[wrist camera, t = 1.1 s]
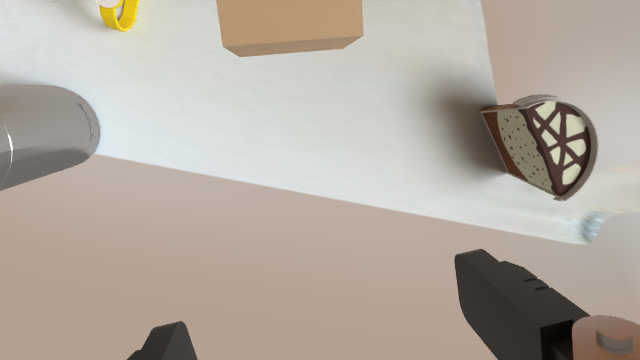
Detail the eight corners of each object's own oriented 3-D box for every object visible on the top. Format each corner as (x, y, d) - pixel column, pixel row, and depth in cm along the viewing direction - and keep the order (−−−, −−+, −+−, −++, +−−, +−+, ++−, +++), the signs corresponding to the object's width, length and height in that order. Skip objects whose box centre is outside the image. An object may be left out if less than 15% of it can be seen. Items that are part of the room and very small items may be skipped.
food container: (552, 159, 49) (619, 175, 39) (511, 183, 49) (567, 205, 39) (518, 75, 46) (580, 70, 36) (474, 101, 46) (524, 102, 36)
